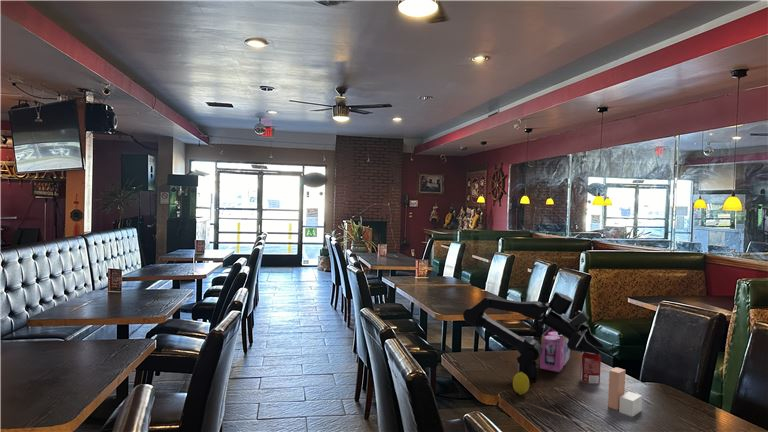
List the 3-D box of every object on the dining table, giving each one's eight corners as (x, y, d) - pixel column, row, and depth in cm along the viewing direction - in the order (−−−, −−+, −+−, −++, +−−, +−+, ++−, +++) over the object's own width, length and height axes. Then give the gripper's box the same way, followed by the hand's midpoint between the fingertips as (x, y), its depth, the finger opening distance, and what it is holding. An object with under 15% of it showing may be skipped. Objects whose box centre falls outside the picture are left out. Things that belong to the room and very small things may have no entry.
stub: (607, 406, 154) (609, 370, 153) (614, 402, 157) (616, 367, 157) (617, 410, 151) (619, 373, 151) (623, 406, 155) (625, 369, 154)
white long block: (577, 399, 160) (578, 383, 160) (587, 394, 165) (588, 378, 165) (632, 418, 147) (633, 401, 147) (641, 412, 151) (642, 395, 151)
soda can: (601, 387, 172) (603, 354, 172) (582, 385, 174) (583, 352, 173) (597, 380, 179) (598, 348, 179) (578, 378, 180) (579, 347, 180)
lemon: (529, 393, 164) (530, 370, 164) (528, 399, 159) (529, 375, 159) (512, 390, 166) (513, 368, 166) (511, 396, 161) (512, 373, 161)
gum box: (559, 373, 185) (560, 339, 184) (538, 369, 189) (539, 336, 189) (570, 357, 205) (571, 326, 205) (551, 354, 209) (552, 323, 209)
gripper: (565, 310, 163) (610, 336, 156) (574, 301, 179) (615, 325, 172) (550, 337, 165) (593, 364, 158) (560, 326, 181) (599, 350, 174)
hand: (601, 349), depth 166 cm, fingers open, 9 cm apart
